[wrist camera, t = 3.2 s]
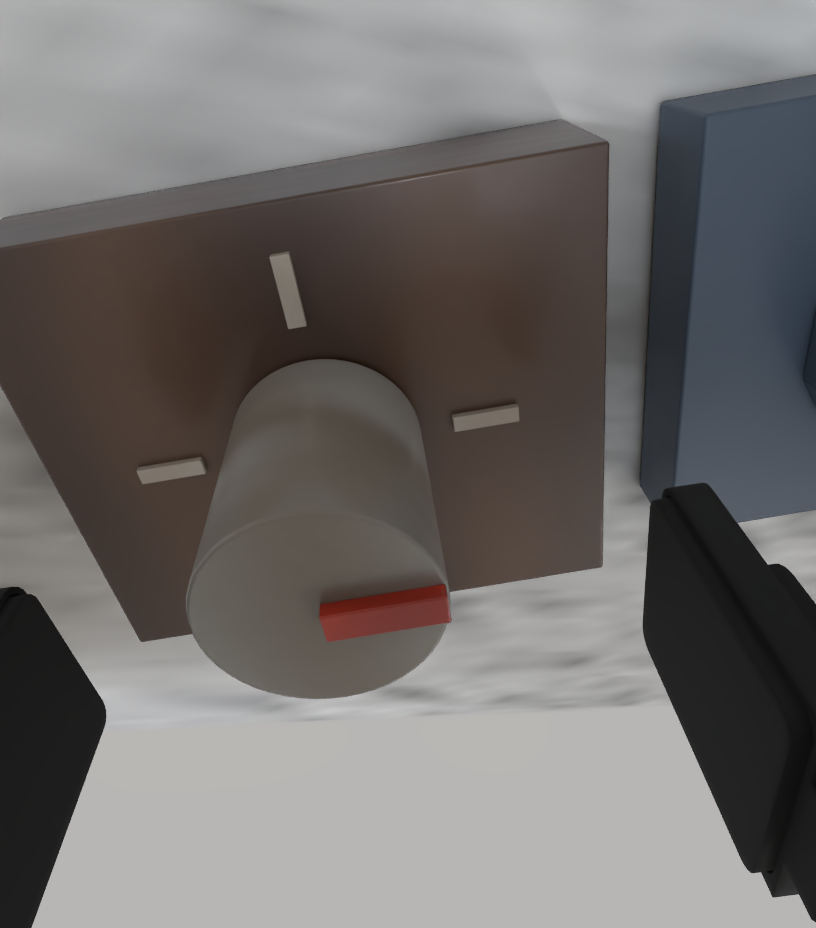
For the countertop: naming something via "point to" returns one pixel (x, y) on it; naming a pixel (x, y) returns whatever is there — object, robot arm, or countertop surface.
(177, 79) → the countertop surface
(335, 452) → the lock knob
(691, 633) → the robot arm
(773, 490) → the button block
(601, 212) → the panel
